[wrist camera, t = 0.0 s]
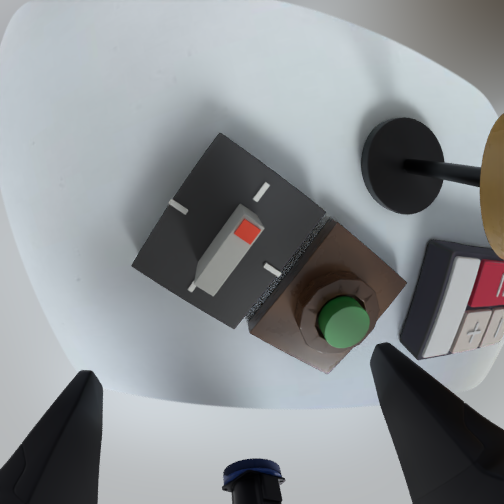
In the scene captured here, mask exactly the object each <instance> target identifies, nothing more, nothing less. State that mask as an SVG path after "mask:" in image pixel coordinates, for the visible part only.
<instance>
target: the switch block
mask: <svg viewBox="0 0 504 504" xmlns="http://www.w3.org/2000/svg"><path fill="white" fill-rule="evenodd" d="M406 284H407V282H406V281H405V280H404V279H403V278H401V277H400V276H399V275H398V274H397V273H396V272H395V271H394V270H393V269H392V268H390V267H389V266H388V265H387V264H386V263H385V262H384V261H383V260H381V259H380V258H379V257H378V256H377V255H376V254H375V253H373V252H372V251H371V250H370V249H369V248H368V247H367V246H365V245H364V244H363V243H362V242H361V241H360V240H358V239H357V238H356V237H355V236H354V235H352V234H351V233H350V232H349V231H348V230H346V229H345V228H344V227H343V226H342V225H340V224H339V223H338V222H336V221H335V220H333V219H332V218H330V219H329V220H328V221H327V223H326V224H325V225H324V227H323V228H322V229H321V231H320V232H319V233H318V235H317V236H316V237H315V238H314V240H313V241H312V242H311V244H310V245H309V246H308V248H307V249H306V250H305V251H304V253H303V254H302V255H301V257H300V258H299V259H298V260H297V262H296V263H295V264H294V266H293V267H292V268H291V269H290V271H289V272H288V273H287V274H286V276H285V277H284V278H283V280H282V281H281V282H280V283H279V285H278V286H277V287H276V288H275V290H274V291H273V292H272V293H271V295H270V296H269V297H268V298H267V300H266V301H265V302H264V303H263V304H262V306H261V307H260V308H259V309H258V311H257V312H256V313H255V314H254V316H253V317H252V318H251V319H250V320H249V322H248V327H249V332H250V333H251V334H252V335H254V336H256V337H258V338H260V339H261V340H263V341H265V342H267V343H269V344H271V345H272V346H274V347H276V348H278V349H280V350H282V351H283V352H285V353H287V354H289V355H291V356H293V357H295V358H297V359H299V360H301V361H302V362H304V363H306V364H308V365H310V366H312V367H314V368H316V369H318V370H320V371H322V372H324V373H326V374H329V373H330V372H331V371H332V370H333V369H334V367H335V366H336V365H337V364H338V363H339V362H340V361H341V360H342V359H343V358H344V357H345V356H346V355H347V354H348V353H349V352H350V350H351V349H352V348H353V347H355V346H357V345H359V344H360V343H361V342H362V341H363V340H364V339H365V338H366V337H367V336H368V335H369V333H370V332H371V331H372V330H373V329H374V327H375V324H376V321H377V320H378V319H379V317H380V316H381V315H382V314H383V313H384V311H385V310H386V309H387V308H388V307H389V305H390V304H391V303H392V302H393V300H394V299H395V298H396V297H397V295H398V294H399V293H400V292H401V290H402V289H403V288H404V286H405V285H406ZM341 296H348V297H352V298H354V299H355V300H356V301H357V302H358V303H359V304H360V305H361V306H362V307H363V308H364V310H365V311H366V312H367V313H368V315H369V319H370V324H369V329H368V331H367V333H366V335H365V336H364V337H363V338H362V339H361V340H360V341H359V342H358V343H356V344H355V345H353V346H351V347H347V348H336V347H333V346H331V345H330V344H329V343H328V342H327V341H326V339H325V337H324V335H323V333H322V332H321V330H320V328H319V325H318V317H319V314H320V312H321V310H322V308H323V307H324V306H325V305H326V304H327V303H328V302H329V301H331V300H332V299H334V298H337V297H341Z"/></svg>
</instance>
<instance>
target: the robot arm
mask: <svg viewBox="0 0 504 504" xmlns="http://www.w3.org/2000/svg"><path fill="white" fill-rule="evenodd" d="M370 367H371V371H372V374H373V378H374V382H375V386H376V390H377V395H378V399H379V403H380V406H381V409H382V412H383V415H384V418H385V420H386V423H387V426H388V429H389V432H390V434H391V437H392V440H393V443H394V446H395V449H396V452H397V455H398V458H399V461H400V464H401V467H402V470H403V473H404V476H405V479H406V483H407V486H408V489H409V492H410V496H411V499H412V502H413V504H504V430H503V429H502V428H500V427H498V426H497V425H495V424H494V423H492V422H490V421H489V420H488V419H486V418H485V417H483V416H482V415H480V414H479V413H478V412H477V411H475V410H474V409H473V408H471V407H470V406H469V405H468V404H466V403H464V401H462V400H461V399H460V398H459V397H457V396H456V395H455V394H454V393H452V392H451V391H450V390H449V389H447V388H446V387H445V386H444V385H442V384H441V383H440V382H439V381H437V380H436V379H435V378H433V377H432V376H431V375H430V374H428V373H427V372H426V371H425V370H423V369H422V368H421V367H420V366H418V365H417V364H416V363H414V362H413V361H412V360H411V359H409V358H408V357H407V356H405V355H404V354H403V353H402V352H400V351H399V350H398V349H397V348H395V347H394V346H393V345H391V344H390V343H388V342H385V343H381V344H377V345H376V346H375V349H374V352H373V354H372V357H371V360H370ZM102 409H103V388H102V385H101V383H100V382H99V380H98V378H97V377H96V375H95V374H94V372H93V371H91V370H81V371H80V372H79V373H78V374H77V375H76V376H75V377H74V379H73V380H72V381H71V382H70V383H69V385H68V386H67V387H66V388H65V389H64V391H63V392H62V393H61V394H60V395H59V397H58V398H57V399H56V400H55V402H54V403H53V404H52V405H51V407H50V408H49V409H48V410H47V411H46V413H45V414H44V415H43V417H42V418H41V419H40V420H39V422H38V423H37V424H36V426H35V427H34V428H33V429H32V431H31V432H30V433H29V434H28V436H27V437H26V438H25V440H24V441H23V442H22V444H21V445H20V446H19V448H18V449H17V450H16V451H15V453H14V454H13V455H12V456H11V458H10V459H9V460H8V461H7V463H6V464H5V465H4V466H3V467H2V468H1V469H0V504H97V502H98V478H99V463H100V450H101V440H102V411H103V410H102ZM284 482H285V478H283V477H278V476H274V475H270V474H265V473H261V472H258V471H254V470H246V471H244V472H243V473H242V474H240V475H239V476H237V477H236V478H234V479H233V480H231V481H230V482H228V483H227V484H225V485H224V486H223V487H222V490H224V491H228V492H232V504H281V502H282V496H281V491H280V486H279V485H281V484H282V483H284Z"/></svg>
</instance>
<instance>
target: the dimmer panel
mask: <svg viewBox="0 0 504 504" xmlns="http://www.w3.org/2000/svg"><path fill="white" fill-rule="evenodd" d="M239 204H242V205H244V206H245V207H246V208H248V209H249V210H251V211H252V212H253V213H255V214H256V215H257V216H258V218H259V220H260V221H261V223H262V225H263V226H264V230H263V231H262V232H261V234H260V235H259V236H258V238H257V239H256V241H255V242H254V243H253V245H252V246H251V247H250V249H249V250H248V251H247V253H246V254H245V255H244V257H243V258H242V259H241V261H240V262H239V263H238V265H237V266H236V267H235V269H234V270H233V271H232V273H231V274H230V275H229V277H228V278H227V279H226V281H225V282H224V283H223V285H222V286H221V287H220V289H219V290H218V291H217V293H216V294H215V295H214V296H212V295H210V294H208V293H207V292H205V291H204V290H202V289H200V288H199V287H197V286H196V285H194V280H195V275H196V270H197V264H198V261H199V260H200V258H201V257H202V256H203V254H204V253H205V251H206V250H207V249H208V247H209V246H210V244H211V243H212V241H213V240H214V239H215V237H216V236H217V234H218V233H219V232H220V230H221V229H222V227H223V226H224V225H225V223H226V222H227V221H228V219H229V218H230V216H231V215H232V214H233V212H234V211H235V209H236V208H237V207H238V205H239ZM325 213H326V211H324V210H323V209H322V208H321V207H319V206H318V205H317V204H316V203H314V202H313V201H312V200H311V199H309V198H308V197H307V196H306V195H304V194H303V193H302V192H300V191H299V190H298V189H297V188H295V187H294V186H293V185H291V184H290V183H289V182H287V181H286V180H285V179H283V178H282V177H281V176H280V175H278V174H277V173H276V172H274V171H273V170H272V169H270V168H269V167H267V166H266V165H265V164H263V163H262V162H261V161H259V160H258V159H257V158H255V157H254V156H252V155H251V154H250V153H248V152H247V151H245V150H244V149H243V148H241V147H240V146H238V145H237V144H236V143H234V142H233V141H231V140H230V139H229V138H227V137H226V136H224V135H223V134H221V133H219V134H218V135H217V137H216V138H215V139H214V141H213V142H212V144H211V145H210V146H209V148H208V149H207V150H206V152H205V153H204V155H203V156H202V157H201V159H200V160H199V162H198V163H197V164H196V166H195V167H194V169H193V170H192V172H191V173H190V174H189V176H188V177H187V179H186V180H185V182H184V183H183V185H182V186H181V188H180V189H179V190H178V192H177V193H176V195H175V196H174V198H173V199H171V200H170V201H169V206H168V207H167V209H166V210H165V212H164V213H163V215H162V216H161V218H160V219H159V221H158V223H157V224H156V226H155V227H154V229H153V231H152V232H151V234H150V235H149V237H148V239H147V240H146V242H145V244H144V245H143V247H142V249H141V250H140V252H139V253H138V255H137V257H136V259H135V260H134V262H133V264H132V267H134V268H135V269H137V270H138V271H140V272H141V273H143V274H144V275H146V276H147V277H149V278H150V279H152V280H154V281H155V282H157V283H158V284H160V285H161V286H163V287H165V288H166V289H168V290H169V291H171V292H173V293H174V294H176V295H177V296H179V297H181V298H182V299H184V300H185V301H187V302H189V303H190V304H192V305H194V306H195V307H197V308H199V309H200V310H202V311H204V312H205V313H207V314H209V315H210V316H212V317H214V318H216V319H217V320H219V321H221V322H223V323H224V324H226V325H228V326H229V327H231V328H233V329H235V328H236V326H237V325H238V324H239V323H240V322H241V320H242V319H243V318H244V317H245V315H246V314H247V313H248V312H249V310H250V309H251V308H252V307H253V305H254V304H255V303H256V302H257V300H258V299H259V298H260V297H261V295H262V294H263V293H264V292H265V290H266V289H267V288H268V287H269V285H270V284H271V283H272V282H273V280H274V279H275V278H276V277H279V276H280V275H281V274H282V273H281V272H280V271H281V270H282V269H283V268H284V266H285V265H286V264H287V262H288V261H289V260H290V259H291V257H292V256H293V255H294V253H295V252H296V251H297V250H298V248H299V247H300V246H301V244H302V243H303V242H304V241H305V239H306V238H307V237H308V235H309V234H310V233H311V231H312V230H313V229H314V227H315V226H316V225H317V223H318V222H319V221H320V220H321V218H322V217H323V216H324V214H325Z"/></svg>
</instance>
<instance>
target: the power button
mask: <svg viewBox="0 0 504 504" xmlns="http://www.w3.org/2000/svg"><path fill="white" fill-rule="evenodd" d="M369 324H370V319H369V315H368V313H367V312H366V311H365V310H364V308H363V307H362V306H361V305H360V304H359V303H358V302H357V301H356V300H355V299H354V298H352V297H348V296H341V297H337V298H334V299H332V300H331V301H329V302H328V303H327V304H326V305H325V306H324V307H323V308H322V310H321V312H320V314H319V317H318V325H319V328H320V330H321V332H322V333H323V335H324V337H325V339H326V341H327V342H328V343H329V344H330V345H331V346H333V347H336V348H347V347H351V346H353V345H355V344H356V343H358V342H359V341H360V340H361V339H362V338H363V337H364V336H365V335H366V333H367V331H368V329H369Z"/></svg>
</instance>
